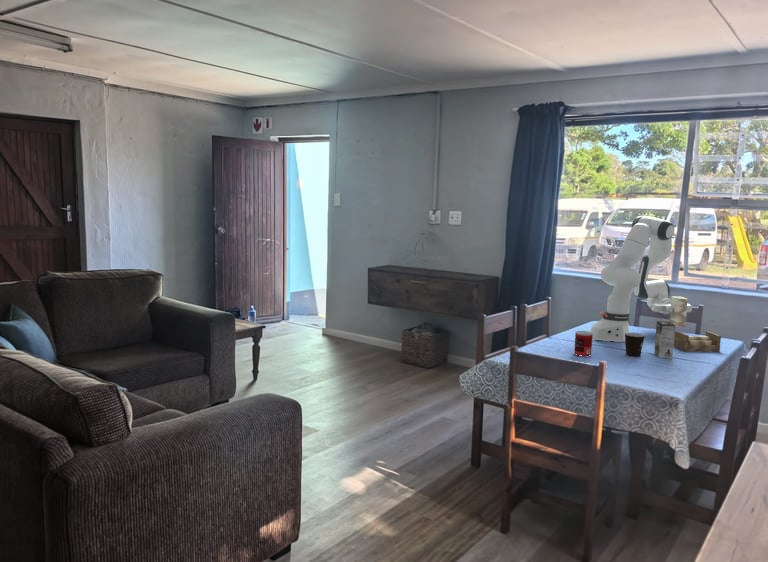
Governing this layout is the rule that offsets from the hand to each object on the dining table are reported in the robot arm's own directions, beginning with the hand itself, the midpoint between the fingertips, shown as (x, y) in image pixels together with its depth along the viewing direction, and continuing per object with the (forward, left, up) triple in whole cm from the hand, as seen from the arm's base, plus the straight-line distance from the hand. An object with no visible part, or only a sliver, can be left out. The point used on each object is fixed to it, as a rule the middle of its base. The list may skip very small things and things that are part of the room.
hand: (678, 310), depth 307 cm
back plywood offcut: (0, -20, -16) cm, 26 cm away
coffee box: (-24, -35, -16) cm, 46 cm away
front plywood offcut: (0, -23, -16) cm, 28 cm away
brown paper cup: (-37, -34, -16) cm, 53 cm away
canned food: (-63, -36, -16) cm, 75 cm away
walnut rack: (0, -20, -16) cm, 26 cm away
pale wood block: (0, 0, -8) cm, 8 cm away
